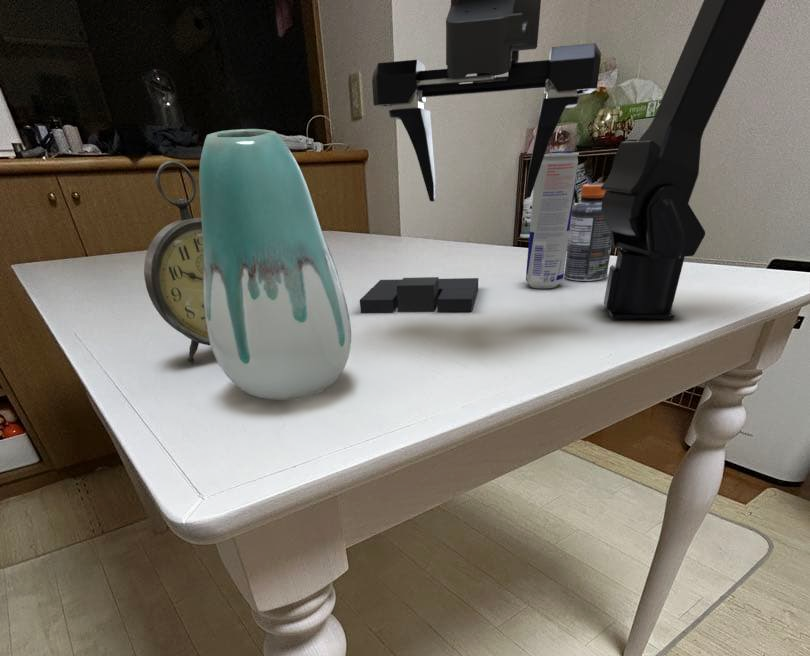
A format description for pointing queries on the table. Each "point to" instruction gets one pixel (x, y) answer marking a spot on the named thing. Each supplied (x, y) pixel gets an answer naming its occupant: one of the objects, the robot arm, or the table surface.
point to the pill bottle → (588, 237)
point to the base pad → (451, 299)
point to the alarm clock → (178, 271)
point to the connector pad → (418, 294)
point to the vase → (268, 270)
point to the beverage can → (551, 219)
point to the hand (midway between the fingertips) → (479, 199)
